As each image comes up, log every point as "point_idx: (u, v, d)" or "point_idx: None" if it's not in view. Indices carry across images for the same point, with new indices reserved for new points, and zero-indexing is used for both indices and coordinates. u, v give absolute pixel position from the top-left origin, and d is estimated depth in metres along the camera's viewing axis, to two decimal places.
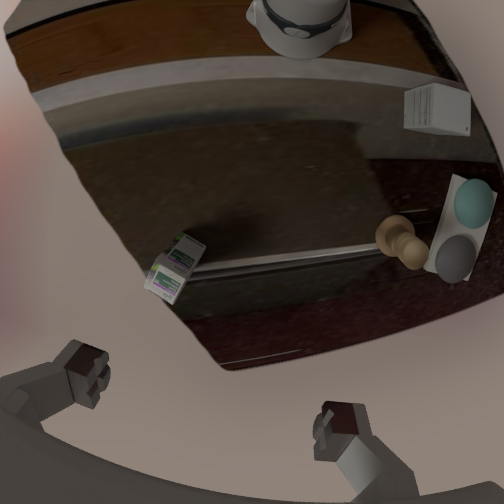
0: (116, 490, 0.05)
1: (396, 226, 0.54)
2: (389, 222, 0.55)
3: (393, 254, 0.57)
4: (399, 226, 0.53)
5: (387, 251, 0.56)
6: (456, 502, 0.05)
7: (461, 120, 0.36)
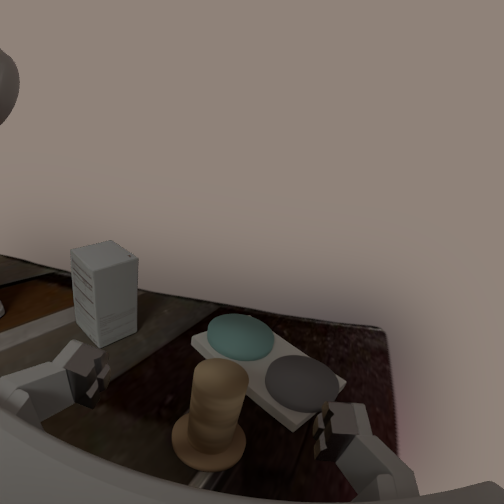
0: (116, 490, 0.05)
1: None
2: (179, 432, 0.29)
3: (235, 455, 0.28)
4: None
5: (223, 460, 0.27)
6: (456, 502, 0.05)
7: (118, 254, 0.40)
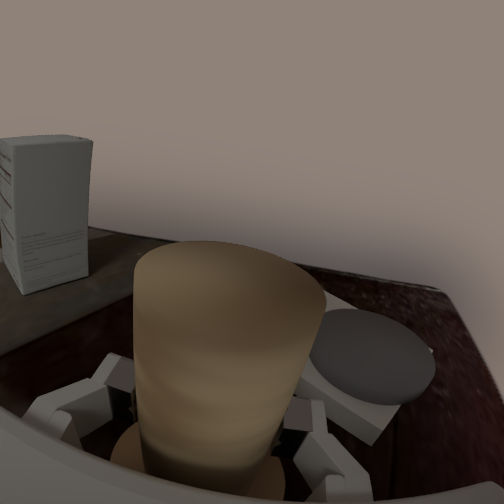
0: (116, 490, 0.05)
1: None
2: (128, 457, 0.11)
3: None
4: None
5: None
6: (456, 502, 0.05)
7: (63, 137, 0.22)
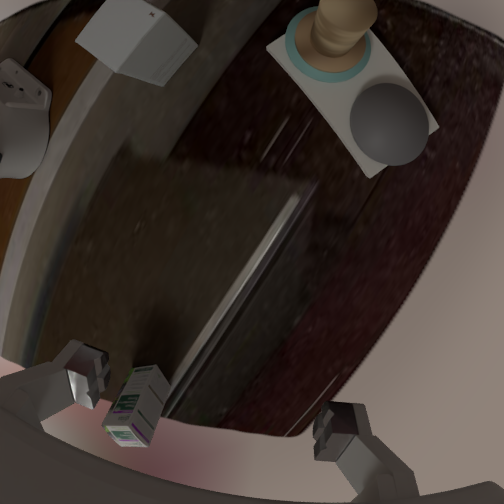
0: (116, 490, 0.05)
1: None
2: (302, 34, 0.28)
3: (355, 59, 0.29)
4: None
5: (344, 64, 0.29)
6: (456, 502, 0.05)
7: (135, 18, 0.21)
